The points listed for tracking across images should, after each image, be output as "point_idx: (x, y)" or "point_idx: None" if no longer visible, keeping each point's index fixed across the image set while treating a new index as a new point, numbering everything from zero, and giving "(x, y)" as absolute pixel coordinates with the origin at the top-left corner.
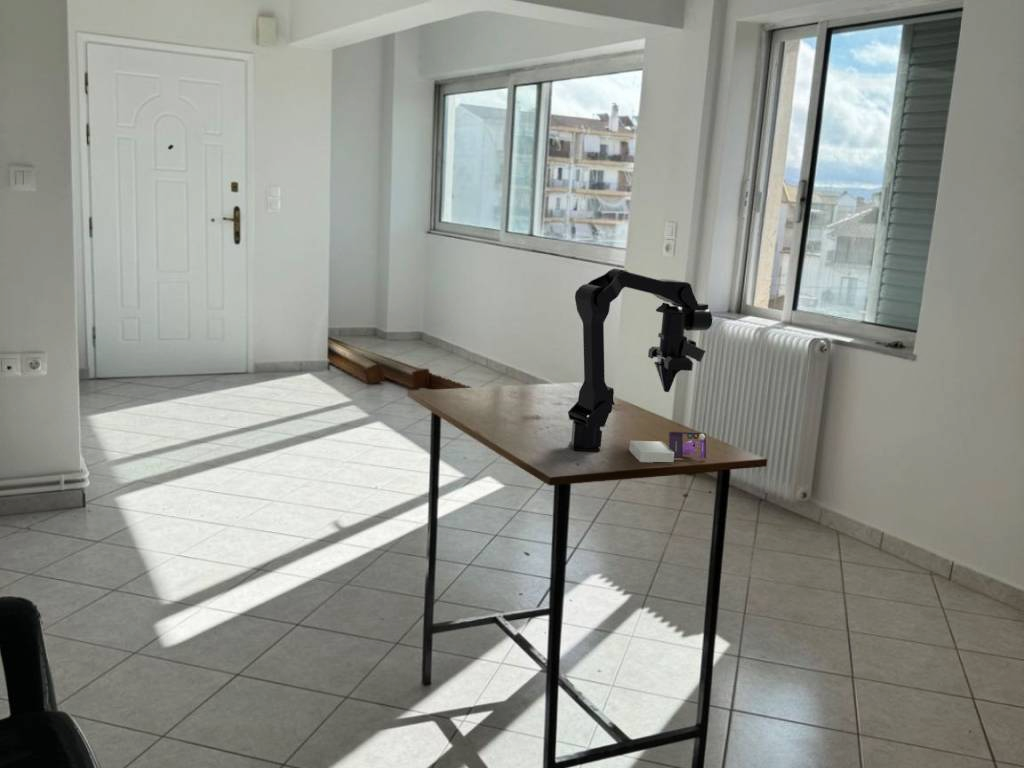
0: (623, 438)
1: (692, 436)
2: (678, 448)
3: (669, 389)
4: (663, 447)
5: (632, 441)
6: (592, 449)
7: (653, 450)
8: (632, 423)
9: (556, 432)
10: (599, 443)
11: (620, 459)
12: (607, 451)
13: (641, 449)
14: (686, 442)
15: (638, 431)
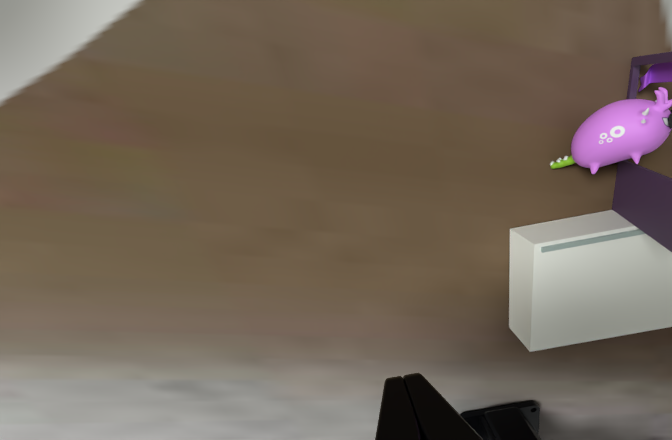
0: (348, 338)
1: None
2: (644, 187)
3: (437, 394)
4: (624, 246)
5: (541, 345)
6: (538, 421)
7: (667, 285)
8: (82, 302)
9: None
10: (525, 420)
11: (610, 352)
12: (524, 381)
13: (651, 323)
14: (644, 153)
15: (215, 287)
